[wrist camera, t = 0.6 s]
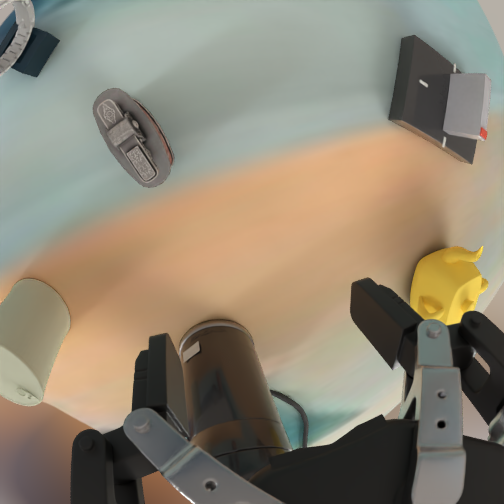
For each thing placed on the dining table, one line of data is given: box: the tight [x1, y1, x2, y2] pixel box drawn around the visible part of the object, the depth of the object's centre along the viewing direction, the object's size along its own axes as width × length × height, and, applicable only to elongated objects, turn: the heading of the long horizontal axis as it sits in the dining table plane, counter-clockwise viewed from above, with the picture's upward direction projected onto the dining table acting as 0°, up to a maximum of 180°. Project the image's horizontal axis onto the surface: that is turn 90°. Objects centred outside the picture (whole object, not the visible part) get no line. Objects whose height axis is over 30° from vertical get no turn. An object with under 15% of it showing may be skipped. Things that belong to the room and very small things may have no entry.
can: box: [0, 279, 70, 406], centre depth 22 cm, size 9×9×12 cm
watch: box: [0, 0, 60, 77], centre depth 12 cm, size 6×8×11 cm
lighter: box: [93, 88, 174, 188], centre depth 19 cm, size 8×3×10 cm, turn 29°
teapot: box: [410, 246, 488, 325], centre depth 35 cm, size 14×13×10 cm
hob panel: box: [388, 35, 477, 164], centre depth 27 cm, size 16×13×3 cm
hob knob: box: [443, 73, 491, 141], centre depth 23 cm, size 8×2×6 cm, turn 167°
